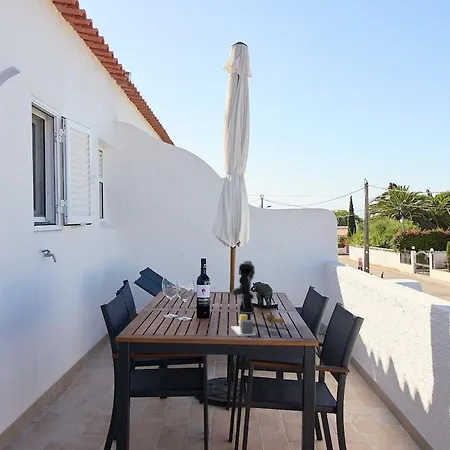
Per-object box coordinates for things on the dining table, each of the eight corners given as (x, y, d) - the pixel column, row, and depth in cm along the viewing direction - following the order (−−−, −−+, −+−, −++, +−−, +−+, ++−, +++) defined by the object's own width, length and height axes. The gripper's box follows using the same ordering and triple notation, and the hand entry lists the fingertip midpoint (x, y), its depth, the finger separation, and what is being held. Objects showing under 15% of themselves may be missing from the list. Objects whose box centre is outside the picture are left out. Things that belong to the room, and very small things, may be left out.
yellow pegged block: (239, 326, 287) (239, 314, 287) (245, 326, 288) (246, 314, 288) (240, 328, 283) (240, 315, 283) (247, 327, 284) (247, 315, 284)
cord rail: (231, 328, 296) (231, 315, 296) (246, 327, 298) (246, 314, 298) (239, 335, 274) (239, 322, 274) (255, 335, 276) (256, 321, 276)
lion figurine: (263, 327, 298) (264, 313, 298) (265, 326, 303) (266, 312, 303) (287, 329, 293) (287, 315, 293) (288, 327, 298) (288, 313, 298)
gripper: (229, 281, 306) (229, 306, 306) (236, 285, 288) (235, 311, 288) (246, 281, 308) (246, 305, 308) (253, 285, 290) (253, 310, 290)
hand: (245, 308), depth 298 cm, fingers closed
